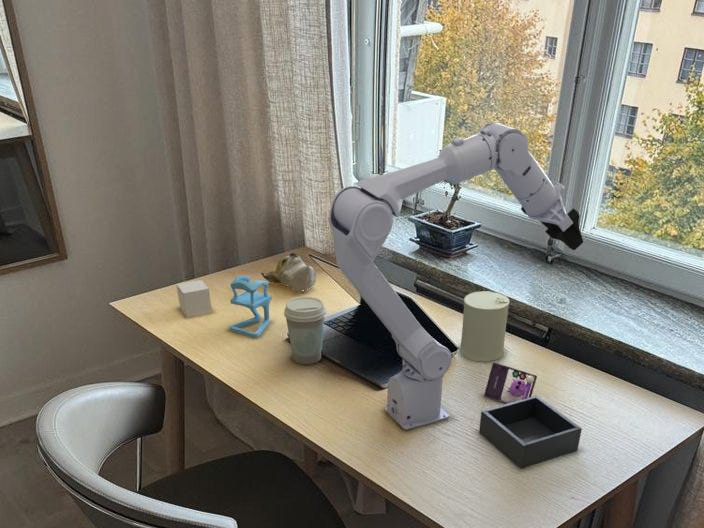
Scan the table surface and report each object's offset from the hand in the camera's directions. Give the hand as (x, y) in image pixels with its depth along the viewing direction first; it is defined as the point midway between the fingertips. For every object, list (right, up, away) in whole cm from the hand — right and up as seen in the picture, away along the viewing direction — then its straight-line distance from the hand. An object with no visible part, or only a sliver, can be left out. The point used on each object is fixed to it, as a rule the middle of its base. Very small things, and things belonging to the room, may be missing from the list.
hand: (566, 235), depth 135 cm
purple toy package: (-7, -27, +12) cm, 31 cm away
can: (-10, -16, +28) cm, 34 cm away
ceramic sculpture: (-52, +6, +58) cm, 78 cm away
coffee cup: (-47, -17, +27) cm, 57 cm away
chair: (-59, -9, +39) cm, 72 cm away
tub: (-7, -36, 0) cm, 37 cm away
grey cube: (-74, -3, +47) cm, 88 cm away
